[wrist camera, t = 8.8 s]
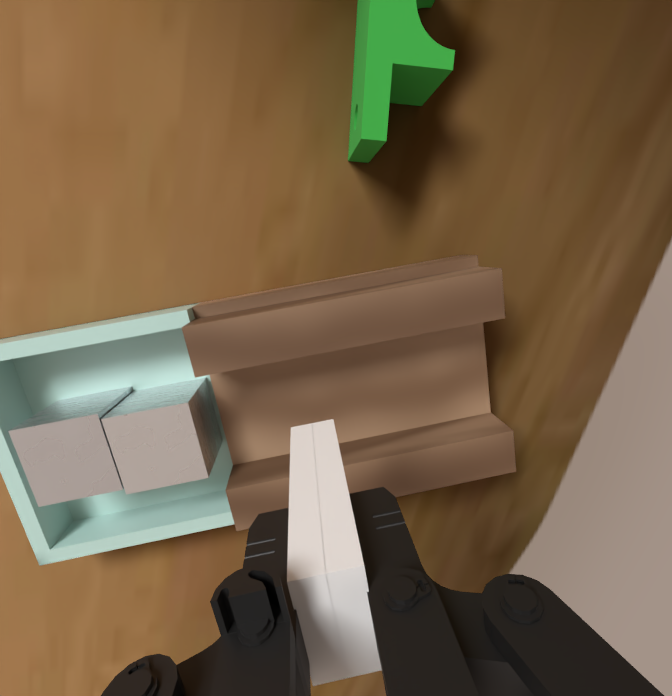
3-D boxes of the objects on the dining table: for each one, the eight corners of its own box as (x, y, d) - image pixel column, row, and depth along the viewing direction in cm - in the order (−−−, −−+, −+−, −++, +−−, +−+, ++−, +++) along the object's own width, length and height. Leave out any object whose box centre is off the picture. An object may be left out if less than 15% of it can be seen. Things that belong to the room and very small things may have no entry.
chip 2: (134, 390, 23) (100, 419, 19) (206, 377, 23) (187, 402, 19) (154, 454, 24) (126, 494, 20) (222, 441, 24) (208, 477, 20)
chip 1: (58, 400, 22) (8, 431, 18) (131, 386, 22) (97, 413, 19) (81, 464, 23) (38, 507, 19) (151, 450, 23) (123, 489, 20)
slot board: (200, 302, 22) (177, 314, 18) (462, 255, 23) (500, 255, 19) (248, 491, 25) (239, 540, 21) (479, 443, 26) (516, 481, 22)
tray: (-4, 339, 22) (-49, 352, 19) (200, 302, 22) (186, 309, 20) (69, 528, 25) (39, 565, 22) (248, 491, 25) (242, 522, 22)
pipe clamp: (414, 167, 22) (444, 147, 18) (347, 162, 22) (360, 140, 17) (439, -82, 20) (481, -178, 15) (362, -93, 19) (382, -196, 15)
